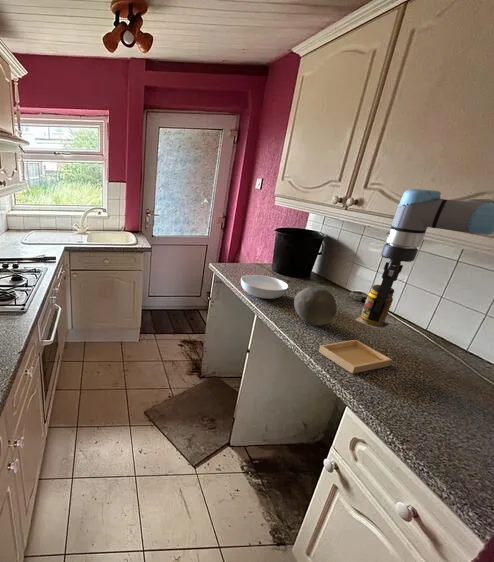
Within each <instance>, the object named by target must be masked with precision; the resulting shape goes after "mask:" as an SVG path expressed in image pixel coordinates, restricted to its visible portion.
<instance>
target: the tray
mask: <svg viewBox="0 0 494 562" xmlns="http://www.w3.org/2000/svg"><path fill="white" fill-rule="evenodd" d="M318 353H319V354H321V355H323V356H324V357H325V358H327V359H329V360H330V361H332V362H333V363H335V364H336V365H338V366H339V367H341V368H342V369H344V370H345V371H347V372H348V373H350V374H359V373H364V372H368V371H371V370H376V369H377V370H378V369H382V368H387V367H390V366H391V364H392V361H393V359H392V358H391V357H388V356H387V355H386V354H383V353H381V352H380V351H377V350H376V349H374V348H373V347H370V346H368V345H367V344H365V343H363V342H362V341H359V340H357V339H352V340H351V339H350V340H344V341H340V342H334V343H328V344H322V345H320V346H319V349H318Z"/></svg>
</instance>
